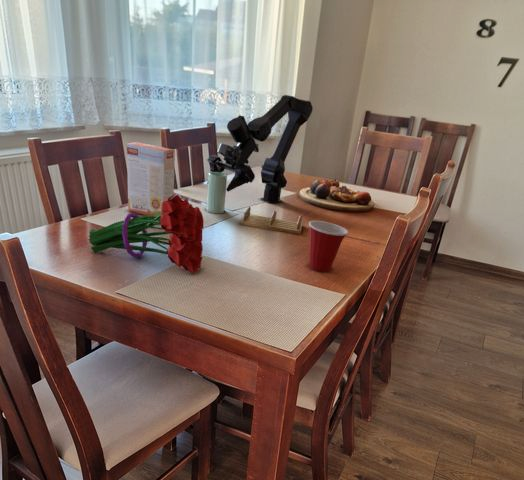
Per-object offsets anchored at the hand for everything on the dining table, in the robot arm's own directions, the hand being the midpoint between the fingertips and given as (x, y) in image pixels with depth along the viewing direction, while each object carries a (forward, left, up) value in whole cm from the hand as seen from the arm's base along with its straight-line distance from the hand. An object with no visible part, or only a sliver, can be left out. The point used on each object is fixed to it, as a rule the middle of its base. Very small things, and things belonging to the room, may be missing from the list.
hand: (217, 187), depth 166 cm
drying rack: (-7, +21, -8) cm, 24 cm away
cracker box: (+24, -5, -8) cm, 26 cm away
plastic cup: (+10, +55, -8) cm, 56 cm away
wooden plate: (-59, +11, -8) cm, 61 cm away
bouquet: (+49, +27, -8) cm, 56 cm away
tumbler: (0, 0, -8) cm, 8 cm away
